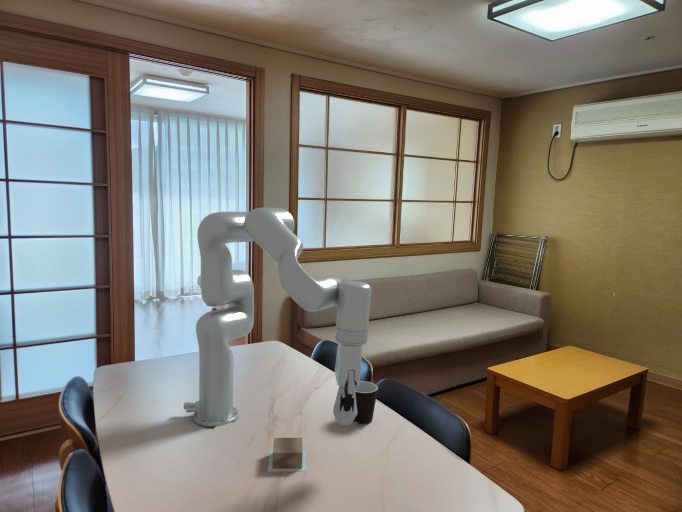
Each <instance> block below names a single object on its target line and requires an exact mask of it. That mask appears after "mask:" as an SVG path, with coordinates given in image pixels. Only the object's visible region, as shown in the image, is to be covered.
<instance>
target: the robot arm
mask: <svg viewBox="0 0 682 512" xmlns="http://www.w3.org/2000/svg"><path fill="white" fill-rule="evenodd" d="M295 225H296V224H295V219H294V218H293V215H292V214H291V213H290V212H289V211H288V210H286V209H285V208H282V207H257V208H254V209H252V210H250V211H217V212H213V213H210V214H208V215H206V216H204V217H203V219H202V220H201V221H200V223H199V226H198V229H197V245H198V249H199V256H200V292H201V300H202V302H204V303H205V305H207V306H209V307H219V306H225V305H228V307H225V308H218V309H216V310H215V309H214V310H212V311H208V312H205V313H204V314H202V315H201V316H200V317H199V318H198V320H197V322H196V324H195V333H196V338H197V344H198V353H199V354H198V360H199V363H198V365H199V366H198V367H199V369H198V371H199V376H198V377H199V378H198V381H199V384H198V388H199V389H198V391H199V392H198V394H199V395H198V400H197V401H195V402H191V401H190V402H183V410H185V412H186V413H193V417H192V418H193V422H194V423H195V424H197V425H198V426H201V427H206V428H207V427H208V428H215V427H219V426H220V427H221V426H224V425H228V424H231V423H234V422H235V421H236V420H237V419H238V417H239V411H238V409H237V408H236V407H235V406H234V368H235V367H234V364H235V363H234V362H235V361H234V353H233V351H232V349H231V348H230V345H229V342H231V341H234V340H236V339H239V338H243V337H246V336H247V335H249V334H250V333H251V332H252V330H253V327H254V322H255V288H254V287H255V286H254V281H253V279H252V278H251V276H250V275H249V273H248V272H246V271H245V270H242V269H233V258H232V253H231V251H230V249H229V247H228V246H227V244H229V243H230V244H231V243H246V242H248V243H249V242H250V243H252V242H255V243H256V244H257V245H258V246H259V247H260V248H261V250H263V251H264V252H265V253H266V255H267V256H269V258H270V259H271V260H272V261H273V262H274V263H275V264H276V272H277V276H278V280H279V283H280V285H281V287H282V289H283V290H284V291H285V292H286V294H287V295H288V296H289V297H290V298H291V299H292V300H293V301H294V303H296V304H297V305H298V306H299V307H300V308H302V309H303V310H305V311H308V312H313V313H314V312H315V313H316V312H319V311H323V310H326V309H331V308H334V307H335V308H336V321H335V322H336V323H335V335H334V341H335V342H336V343H337V347H336V348H337V350H336V358H335V365H334V375H335V379H336V380H335V381H336V384H337V386H338V387H339V386H340V387H341V386H343V388H342V396H341V398H340V411H341V409H342V406H343V405H344V411H350V410H351V407H352V411H353V410H354V398H355V397H354V392H355V386H356V387H357V386H358V385H359V381H361V380H360V379H361V371H362V358H363V357H362V354H363V346H364V345H366V344H367V343H368V336H369V335H368V333H369V322H370V311H371V310H370V309H371V299H372V288H371V286H370V285H369V284H368V283H367V282H363V281H359V280H358V281H357V280H350V279H347V278H344V277H342V276H340V275H337V274H336V275H334V274H330V275H326V276H319V277H314V278H313V277H312V276H310V275H309V274H308V273H307V271H306V270H305V269H304V268H302V267H303V266H301V265H300V263H299V261H298V259H299V257H300V256H301V254H302V252H303V250H304V244H303V241H302V240H301V239H300V238H299V237H298V235H296V234H295V233H294V231H295ZM345 382H348V383H345ZM345 387H348V389H346V390H345Z"/></svg>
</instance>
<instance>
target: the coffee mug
mask: <svg viewBox="0 0 682 512" xmlns="http://www.w3.org/2000/svg"><path fill="white" fill-rule="evenodd" d="M378 390H379V387H378V385H377V384H375V383H373V382H371V381H363V380H362V381H361V380H360V381H359V385H358V386H357V387H356V386H355V396H356V405H357V415H356V417H355V419H354V421H353V422H354V423H357V424H358V425H368V424H371V423H372V422H373V418H374V413H375V407H376V401H377V395H378Z"/></svg>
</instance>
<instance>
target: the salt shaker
mask: <svg viewBox="0 0 682 512" xmlns="http://www.w3.org/2000/svg"><path fill="white" fill-rule="evenodd" d="M345 383H348V382H345ZM342 388H343V386H341V387H340V386H338V390H337V394H336V398H335V401H334V404H333V409H332V411H333V412H332V413H333V416H334V418H335V422H337V424H338V425H342V426H349V425H352V424H353V421H354V419H355V417H356V415H357V405H356V396H355V392H354V397H355V398H354V410H353V411H352V407H351V410H350V411H344V405H343V406H342V409H341V411H340V398H341V396H342ZM346 389H348V387H345V390H346Z"/></svg>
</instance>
